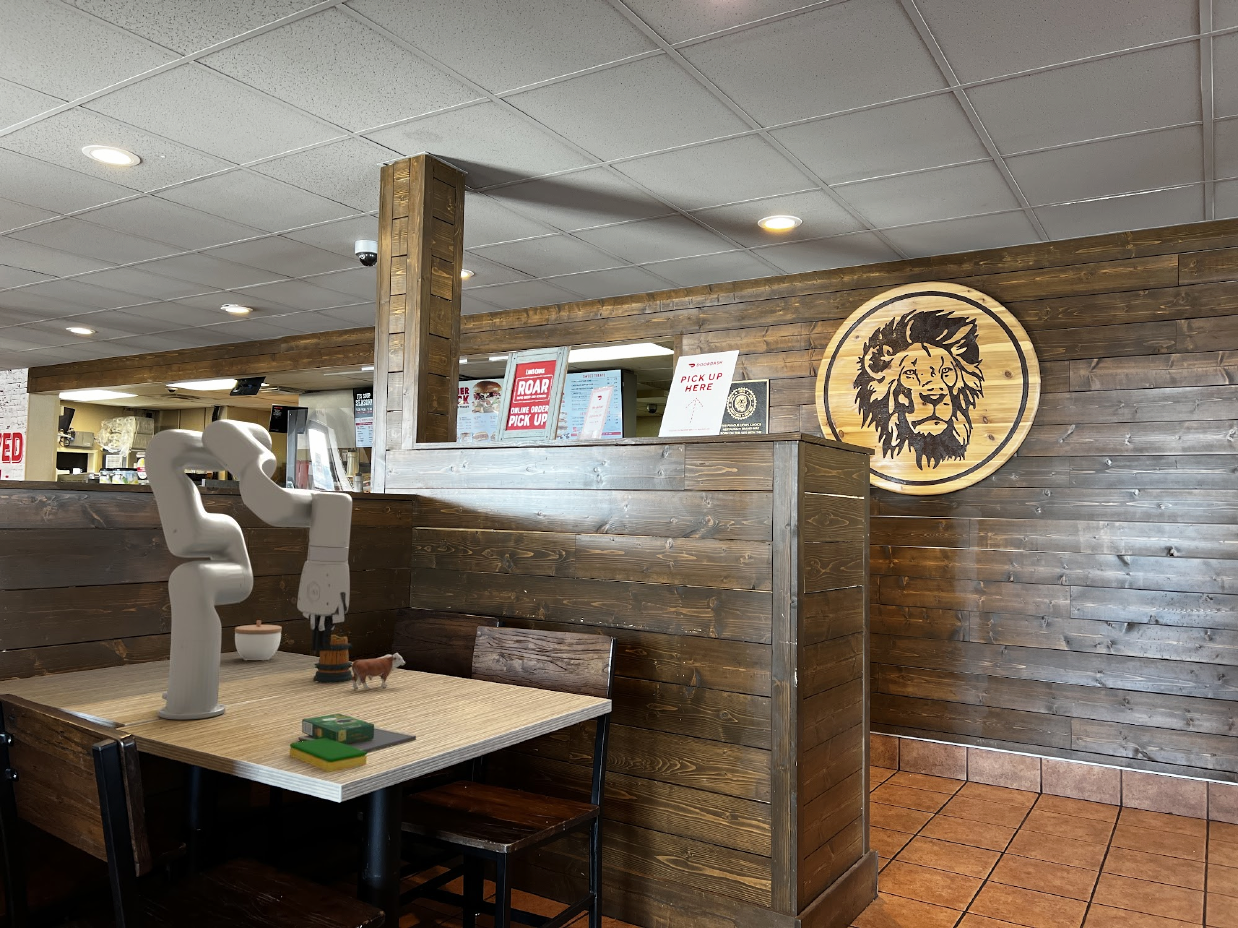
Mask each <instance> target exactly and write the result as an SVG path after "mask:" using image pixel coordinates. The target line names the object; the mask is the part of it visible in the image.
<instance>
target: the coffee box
mask: <svg viewBox="0 0 1238 928" xmlns="http://www.w3.org/2000/svg"><path fill="white" fill-rule="evenodd" d="M301 724H302V725H301V727H302V728H301V732H302V734H304V735H306V736H308V735H310V736H312V737H315V738H318V739H321V738H329V739H332V740H334V741H337V742H340V743H343V744H348V743H354V742H359V741H365V740H370V739H374V727H375V724H374V723H371V722H367V721H366V720H365V721H364V720H360V719H357V718H354V717H351V716H348V715H345V714H342V713H336V714H328V715H321V716H314V717H309V718H303V719H302V720H301Z"/></svg>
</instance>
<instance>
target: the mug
mask: <svg viewBox="0 0 1238 928" xmlns="http://www.w3.org/2000/svg"><path fill="white" fill-rule="evenodd" d="M353 646H354V645H353V644H352V643H348V636H343V637H339V636H338V635H336V634H331V643H330V649H329V650H326V651H319V658H318V662H317V663H314V668H315V669H317V670H316V672H315V674H314V676H313V681H314V682H315V681H318V682H317V683H320V682H321V683H322V684H323V683H325V684H336V683H337V684H338V683H346V682H350V681H352V678H353V676H354V674H352V664H353V662H352V661H351V662H350V660H349V649H351V648H353ZM350 669H351V670H350Z"/></svg>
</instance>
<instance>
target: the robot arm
mask: <svg viewBox="0 0 1238 928" xmlns="http://www.w3.org/2000/svg"><path fill="white" fill-rule="evenodd" d="M272 445H273V442H272V437H271V435H270V434H269V431H268V430H266V428H264V427H263V426H262V425H260V424H257V423H253V422H245V421H240V420H239V421H238V420H233V419H218V420H215V421H212V422H210V423H209V424H208V425H206V426H205V427H204V429H203V431H197V430H196V431H195V430H189V429H179V428H175V429H170V428H169V429H165V430H161V431H159V432H157V433H155V434H154V435H153V436H152V437H151V438H150V439H149V441H148V443H147V446H146V448H145V450H144V451H145V452H144V458H143V463H144V464H143V465H144V466H143V467H144V472H145V474H146V478H147V481H148V484H149V486H150V487H151V490H152V492H153V495H154V498H155V501H156V504H157V510H158V514H159V519H160V522H161V526H162V530H163V535H164V538H165V542H166V546H167V548H168V551H169V552H170V553H171V554H172V555H173V556H175V557H178V558H210V560H192V561H187V562H184V563H182V564H180V565H178V566H177V567H175V568H174V570H173V571H172V572H171V574H170V575H169V579H168V587H167V588H168V595H169V601H170V602H169V603H170V607H171V608H170V609H171V611H170V612H171V627H170V628H171V629H170V630H171V631H170V632H171V633H170V634H171V635H170V653H169V655H170V656H169V671H168V684H167V685H168V687H167V690H166V692H163V693H162V695H161V699H163V700H166V702H165V704H166V705H165V706H163V707H160V708H159V709H158V711H157V715H158V717H159V718H162V719H167V720H179V721H181V720H184V721H185V720H198V719H207V718H212V717H217V716H219V715H222V714H224V713H225V712H226V705H225V704H223V703H220V702H219V687H220V668H221V653H222V651H221V649H222V622H221V619H220V616H219V614H218V612H217V611H216V608H215V606H217V605H218V606H219V605H221V606H222V605H230V604H231V605H232V604H237V603H240V602H243V601H245V600H247V598H248V597H249V596H250V595H251V592H252V590H253V587H254V575H253V574H254V573H253V568H252V565H251V560H250V557H249V554H248V550H247V546H246V541H245V537H244V535H243V531H242V529H241V526H240V525H239V524H238V522H237V521H236V520H235V519H234V518H233V517H232V516H230V515H228V514H224V513H210V512H208V511H206V510H205V507H204V504H203V501H202V497H201V493H200V491H199V488H198V487H197V485H196V484H195V483H194V481H193V480H192V479H191V478H190V477H189V476H188V475H187V474H186V471H185V470H190V471H197V472H198V471H199V472H201V471H202V472H213V473H215V472H216V473H217V472H225V471H228V472H229V473H230V474H231V475H232V476H233V477H234V478H236V480H238V482H239V485H238V486H239V488H238V489H239V492H240V495H241V500H242V502H243V503H244V504H245V506H246V507H247V508H248V509H249V510H250V511H251V512H252V513H253V514H255V515H256V516H257V517H258V518H259V519H261V521H262V522H264V523H266V524H267V525H270V526H273V527H279V528H280V527H281V528H287V527H289V528H293V527H294V528H309V535H308V536H309V538H308V550H307V560H306V561H304V564H303V568H302V572H301V576H300V580H299V581H300V582H299V586H298V594H297V602H296V603H297V609H298V611H300V612H301V613H302V616H303V617H305V618H306V619H308V621H309V623H310V629H311V630H312V636H311V637H312V638H311V646H310V647H311V651H314V652H320V651H326V650H329V649H330V643H331V635H332V631H333V630H334V629H335V625H337V623H338V624H339V623H343V622H345V614H347V613H348V611H349V606H350V592H351V591H350V589H351V586H350V584H351V583H350V582H351V580H350V566H349V549H350V539H351V538H350V537H351V526H352V525H351V524H352V511H353V498H352V497H351V495H350V494H348V493H345V492H344V493H343V492H334V491H333V492H332V491H330V492H329V491H320V490H314V489H303V488H288V487H281V486H280V485H278V484H276V482H274V481H273V480H272V479H271V478H272V477H273V475H274V473H275V472H276V469H277V464H278V461H277V458H276V456H275V454H274V453H273V452H271V451H272Z"/></svg>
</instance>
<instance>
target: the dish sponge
mask: <svg viewBox="0 0 1238 928" xmlns="http://www.w3.org/2000/svg"><path fill="white" fill-rule="evenodd" d="M289 754H290V755H291V756H290V757H292V756H294V757H295V758H294V757H293V758H294V759H297V758H298V759H297V760H299V759H301V760H300V761H302V760H303V761H302V762H304V761H306V762H305V763H307V762H308V763H307V764H309V765H311V766H314V767H316V768H319V769H321V770H323V771H327V772H334V771H338V770H343V769H349V768H353V767H358V766H363V765H366V764H367V760H368V758H367V757H368V756H367V754H368V752H365V751H362V750H360V749H357V748H354V747H351V746H348V745H346V744H343V743H340V742H337V741H334V740H332V739H329V738H321V739H315V740H309V741H303V742H301V741H298V742H293V743H290V744H289Z"/></svg>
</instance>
